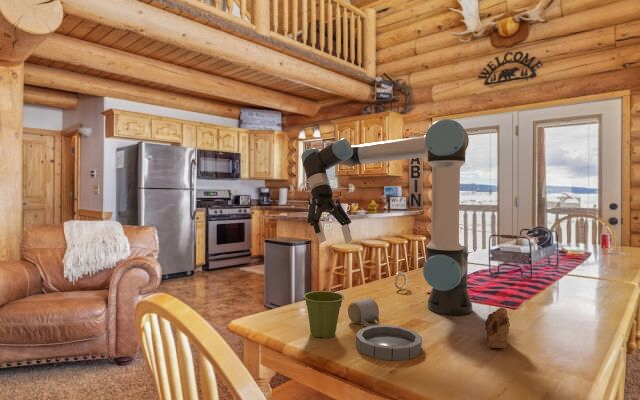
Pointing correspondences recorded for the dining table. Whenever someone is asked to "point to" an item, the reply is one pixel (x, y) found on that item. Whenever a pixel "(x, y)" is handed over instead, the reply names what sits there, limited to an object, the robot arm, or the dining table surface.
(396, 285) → the ring
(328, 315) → the plant pot
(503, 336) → the decorative rock
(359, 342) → the round tray
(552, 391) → the dining table surface
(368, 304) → the ceramic mug
